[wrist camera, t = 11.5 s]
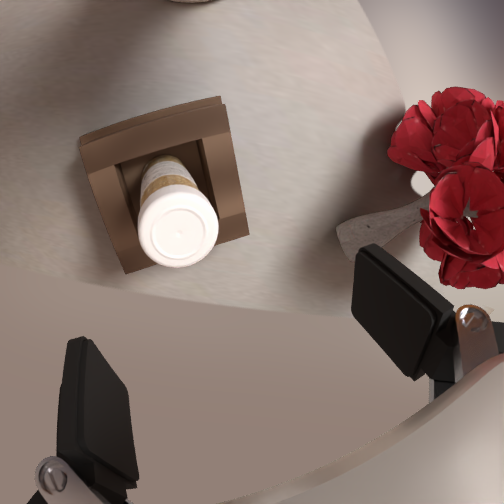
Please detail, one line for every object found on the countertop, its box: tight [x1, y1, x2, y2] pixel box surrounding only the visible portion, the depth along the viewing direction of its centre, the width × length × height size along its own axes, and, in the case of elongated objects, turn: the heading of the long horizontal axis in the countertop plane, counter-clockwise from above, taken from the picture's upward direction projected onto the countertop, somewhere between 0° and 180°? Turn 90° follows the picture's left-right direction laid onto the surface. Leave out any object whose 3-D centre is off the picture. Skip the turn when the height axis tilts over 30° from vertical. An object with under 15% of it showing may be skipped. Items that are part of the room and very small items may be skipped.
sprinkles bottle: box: [138, 155, 218, 268], centre depth 21 cm, size 5×5×14 cm
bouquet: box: [336, 87, 504, 289], centre depth 29 cm, size 22×24×30 cm
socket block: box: [79, 96, 250, 274], centre depth 26 cm, size 14×14×5 cm
